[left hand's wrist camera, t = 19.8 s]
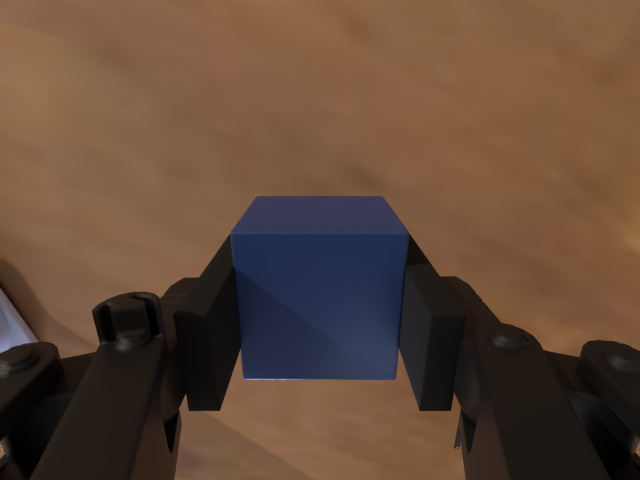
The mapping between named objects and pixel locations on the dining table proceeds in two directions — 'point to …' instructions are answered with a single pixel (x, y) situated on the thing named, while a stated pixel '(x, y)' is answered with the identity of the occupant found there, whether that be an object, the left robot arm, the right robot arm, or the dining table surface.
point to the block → (319, 287)
